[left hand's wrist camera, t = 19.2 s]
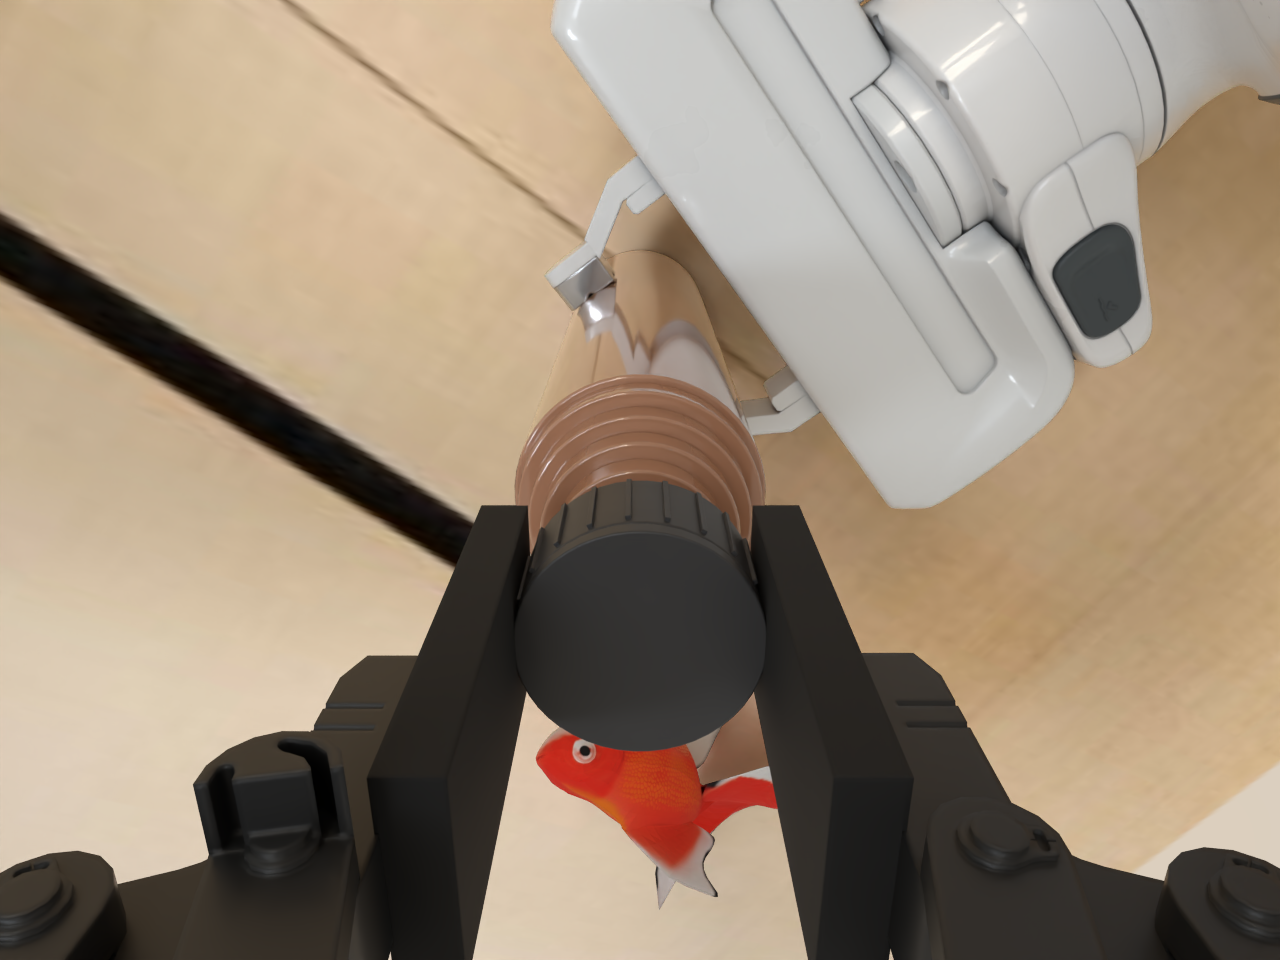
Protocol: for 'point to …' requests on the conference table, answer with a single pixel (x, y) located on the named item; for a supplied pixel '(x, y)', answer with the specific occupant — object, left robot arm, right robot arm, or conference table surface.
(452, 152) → the conference table surface
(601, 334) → the bottle
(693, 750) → the fish
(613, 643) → the cap
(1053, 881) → the left robot arm
